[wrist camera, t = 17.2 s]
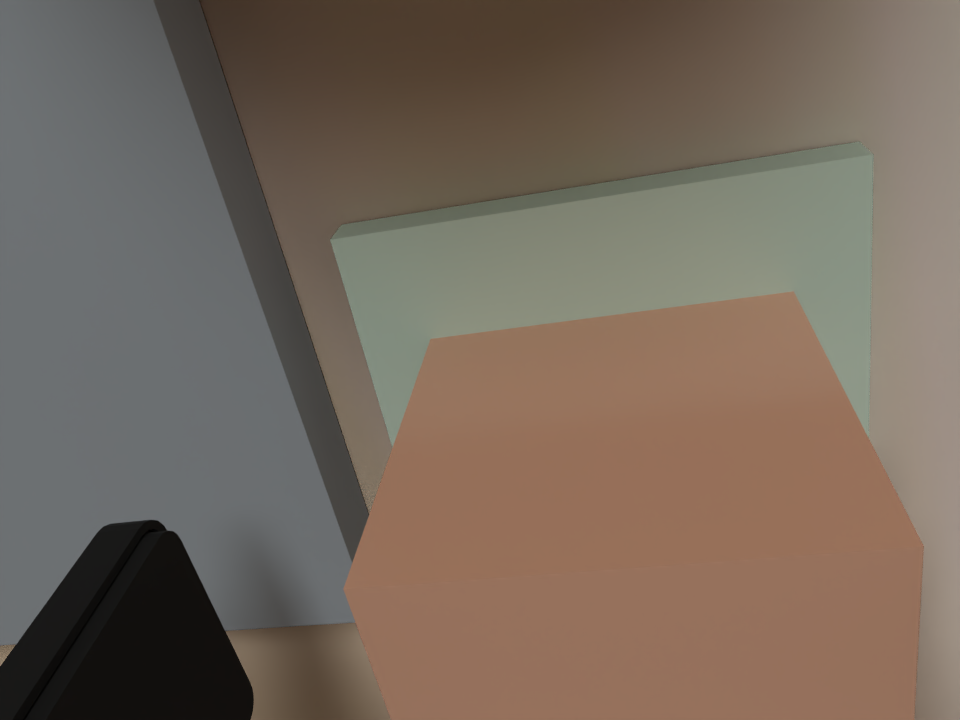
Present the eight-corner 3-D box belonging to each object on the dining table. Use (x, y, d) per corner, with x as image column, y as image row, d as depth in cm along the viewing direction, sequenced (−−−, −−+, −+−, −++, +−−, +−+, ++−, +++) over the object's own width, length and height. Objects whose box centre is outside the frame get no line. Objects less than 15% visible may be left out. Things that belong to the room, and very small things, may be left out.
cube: (430, 339, 12) (342, 589, 8) (793, 291, 11) (924, 545, 7) (496, 595, 14) (457, 898, 10) (802, 574, 14) (904, 899, 9)
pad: (341, 224, 12) (330, 239, 12) (859, 141, 11) (873, 154, 10) (446, 587, 15) (441, 612, 15) (855, 558, 14) (866, 584, 13)
